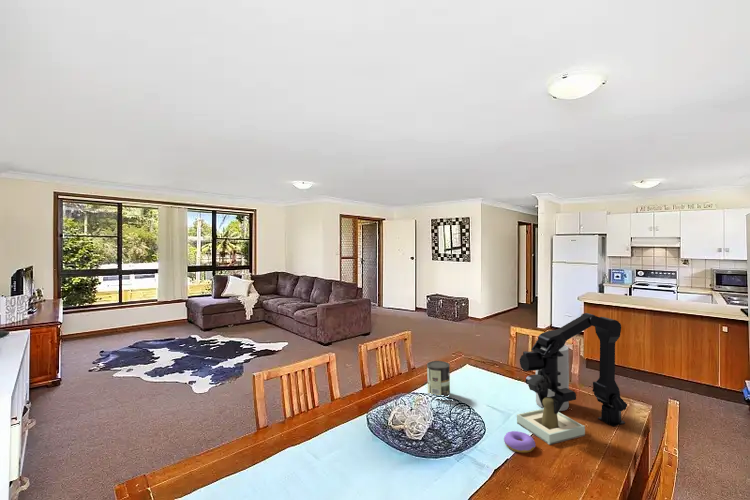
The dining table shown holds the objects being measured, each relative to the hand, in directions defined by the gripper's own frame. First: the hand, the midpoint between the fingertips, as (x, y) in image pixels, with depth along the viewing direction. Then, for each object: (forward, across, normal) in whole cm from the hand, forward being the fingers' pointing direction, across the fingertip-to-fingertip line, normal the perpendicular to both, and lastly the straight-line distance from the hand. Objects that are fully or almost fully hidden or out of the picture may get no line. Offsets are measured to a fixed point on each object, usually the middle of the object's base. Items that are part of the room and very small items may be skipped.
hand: (549, 410), depth 136 cm
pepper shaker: (+7, 0, 0) cm, 7 cm away
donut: (+8, +5, -18) cm, 20 cm away
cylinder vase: (+7, -15, +16) cm, 23 cm away
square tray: (+7, 0, 0) cm, 7 cm away
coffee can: (+7, -42, -23) cm, 48 cm away
